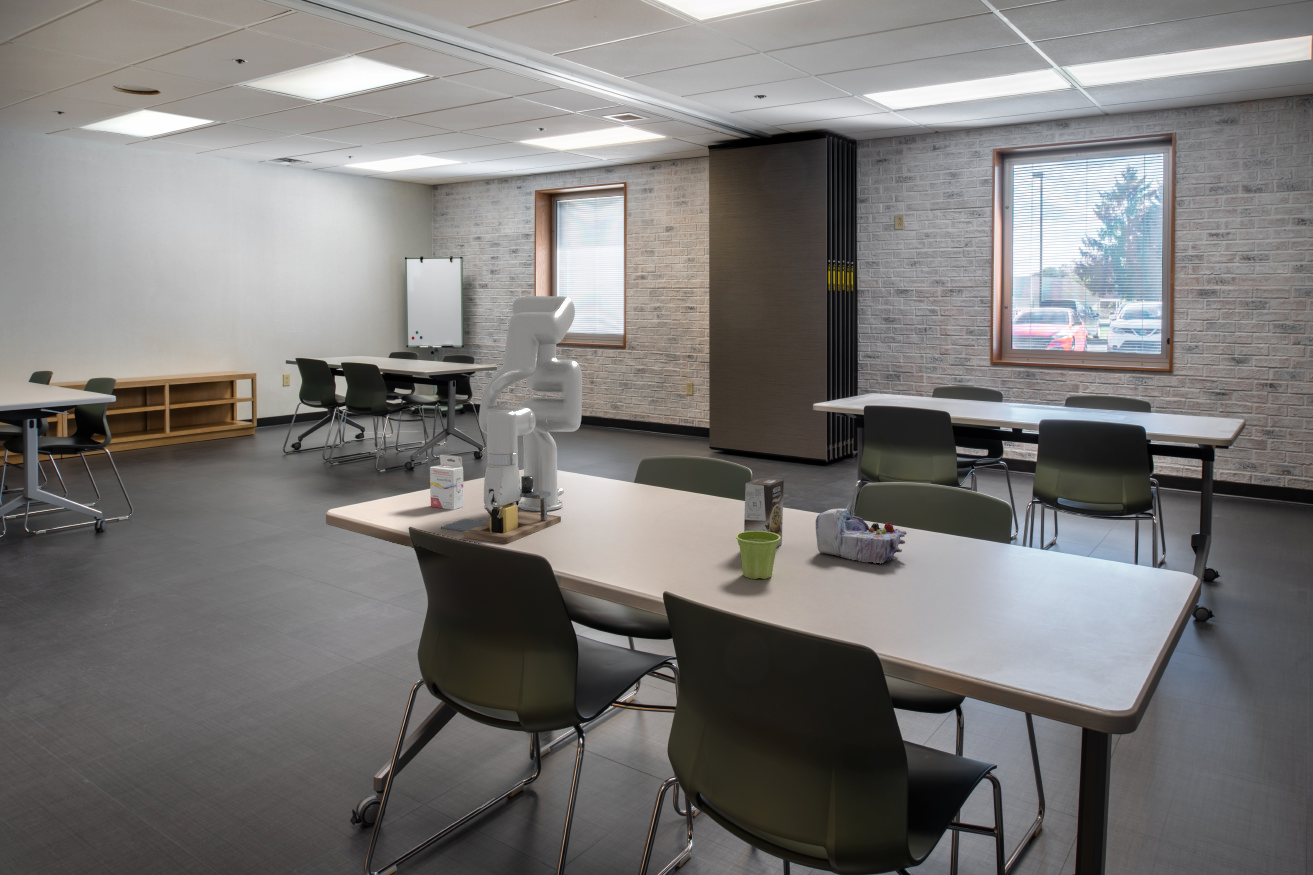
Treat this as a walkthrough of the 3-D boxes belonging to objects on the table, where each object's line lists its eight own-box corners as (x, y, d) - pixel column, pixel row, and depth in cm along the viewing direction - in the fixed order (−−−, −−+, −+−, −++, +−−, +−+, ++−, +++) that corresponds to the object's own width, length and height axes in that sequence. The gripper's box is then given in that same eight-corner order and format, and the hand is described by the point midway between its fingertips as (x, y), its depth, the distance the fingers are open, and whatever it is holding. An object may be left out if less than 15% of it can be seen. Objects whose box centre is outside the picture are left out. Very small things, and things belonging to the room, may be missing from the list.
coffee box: (767, 552, 201) (769, 485, 199) (742, 548, 204) (744, 482, 202) (783, 544, 209) (785, 479, 206) (759, 540, 212) (760, 476, 210)
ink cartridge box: (429, 507, 246) (428, 456, 244) (441, 503, 250) (439, 454, 248) (453, 510, 242) (452, 458, 240) (464, 506, 247) (463, 456, 245)
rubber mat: (464, 520, 231) (464, 518, 231) (495, 524, 226) (495, 522, 226) (440, 528, 222) (440, 526, 222) (472, 532, 217) (472, 531, 217)
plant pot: (762, 585, 177) (763, 544, 175) (726, 575, 183) (727, 536, 182) (787, 575, 184) (789, 535, 182) (751, 566, 190) (752, 528, 189)
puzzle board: (520, 516, 235) (519, 511, 235) (560, 521, 230) (560, 516, 229) (463, 537, 213) (463, 531, 212) (507, 543, 207) (507, 537, 207)
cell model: (826, 501, 208) (910, 511, 199) (823, 544, 209) (907, 556, 201) (811, 511, 196) (900, 523, 187) (808, 556, 198) (896, 570, 189)
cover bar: (515, 513, 231) (515, 473, 230) (550, 517, 227) (550, 476, 225) (505, 517, 227) (504, 476, 225) (540, 521, 222) (540, 480, 221)
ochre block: (501, 530, 220) (501, 503, 219) (517, 532, 218) (517, 505, 217) (490, 534, 216) (489, 507, 215) (506, 536, 214) (506, 509, 213)
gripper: (509, 453, 224) (510, 521, 226) (469, 463, 208) (471, 536, 211) (534, 455, 221) (534, 524, 223) (495, 465, 205) (496, 539, 208)
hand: (503, 529), depth 217 cm, fingers closed on ochre block, 5 cm apart
